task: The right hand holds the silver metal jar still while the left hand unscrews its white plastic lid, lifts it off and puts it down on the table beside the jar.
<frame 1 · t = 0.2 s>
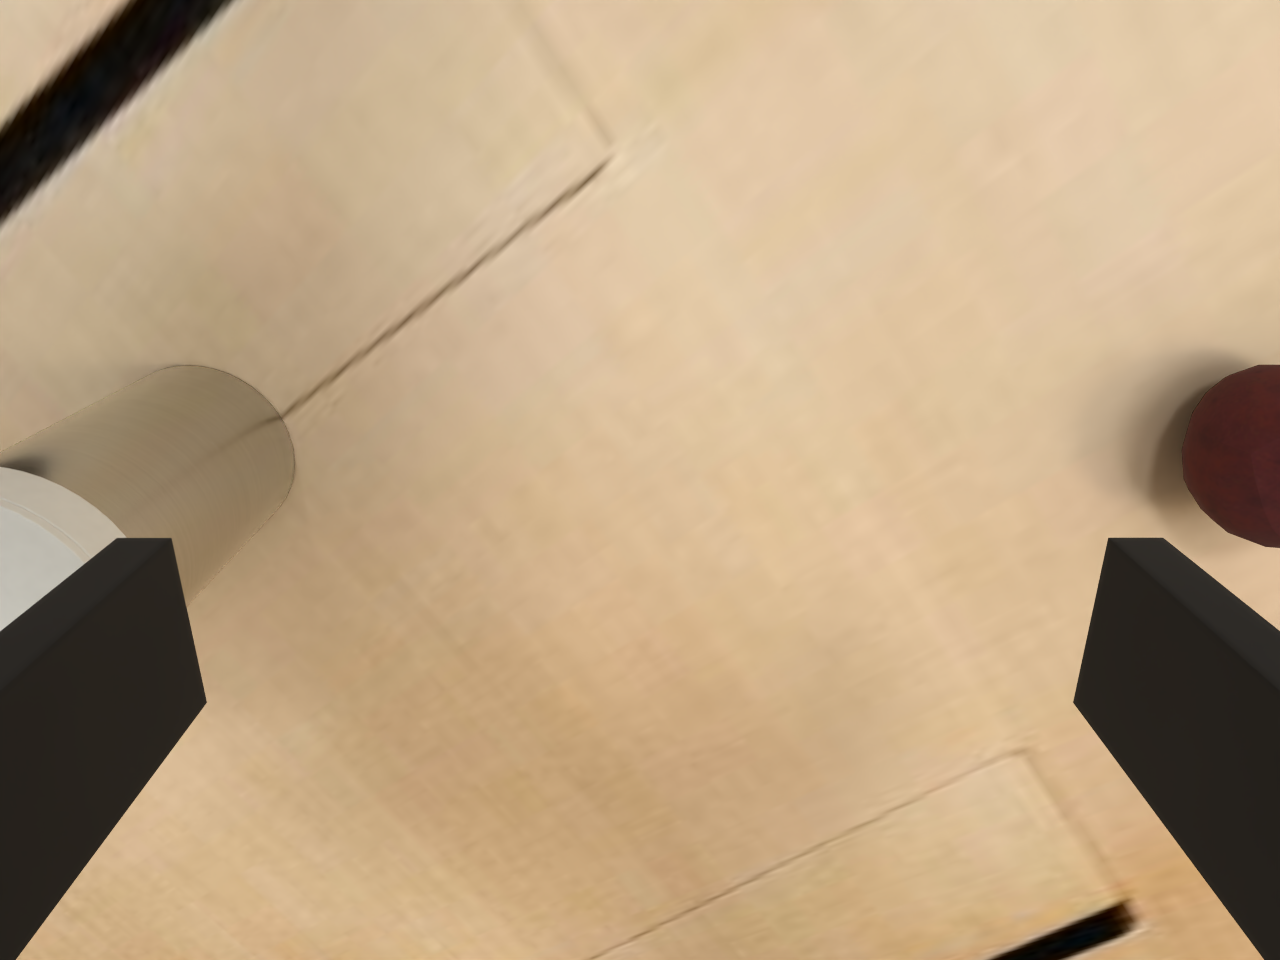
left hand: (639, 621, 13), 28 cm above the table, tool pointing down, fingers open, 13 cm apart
jar: (205, 451, 42), on the table
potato: (1227, 425, 41), on the table
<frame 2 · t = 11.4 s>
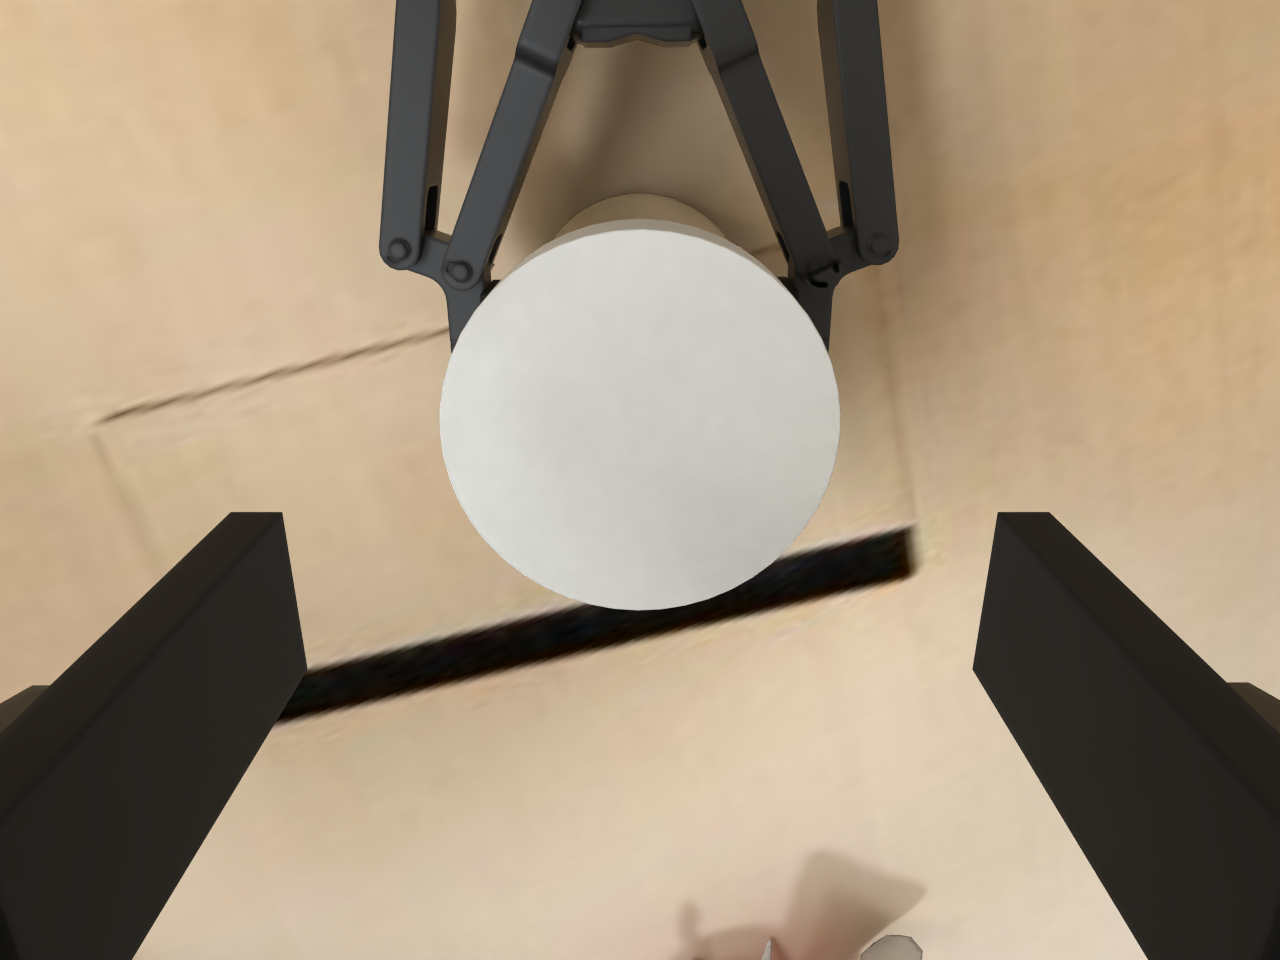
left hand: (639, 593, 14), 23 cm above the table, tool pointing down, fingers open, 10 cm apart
right hand: (641, 474, 31), fingers closed on jar, 8 cm apart
lid: (639, 430, 21), point 15 cm above the table, screwed on, not yet turned
jar: (639, 303, 35), on the table, touching right hand
fish: (767, 957, 48), on the table
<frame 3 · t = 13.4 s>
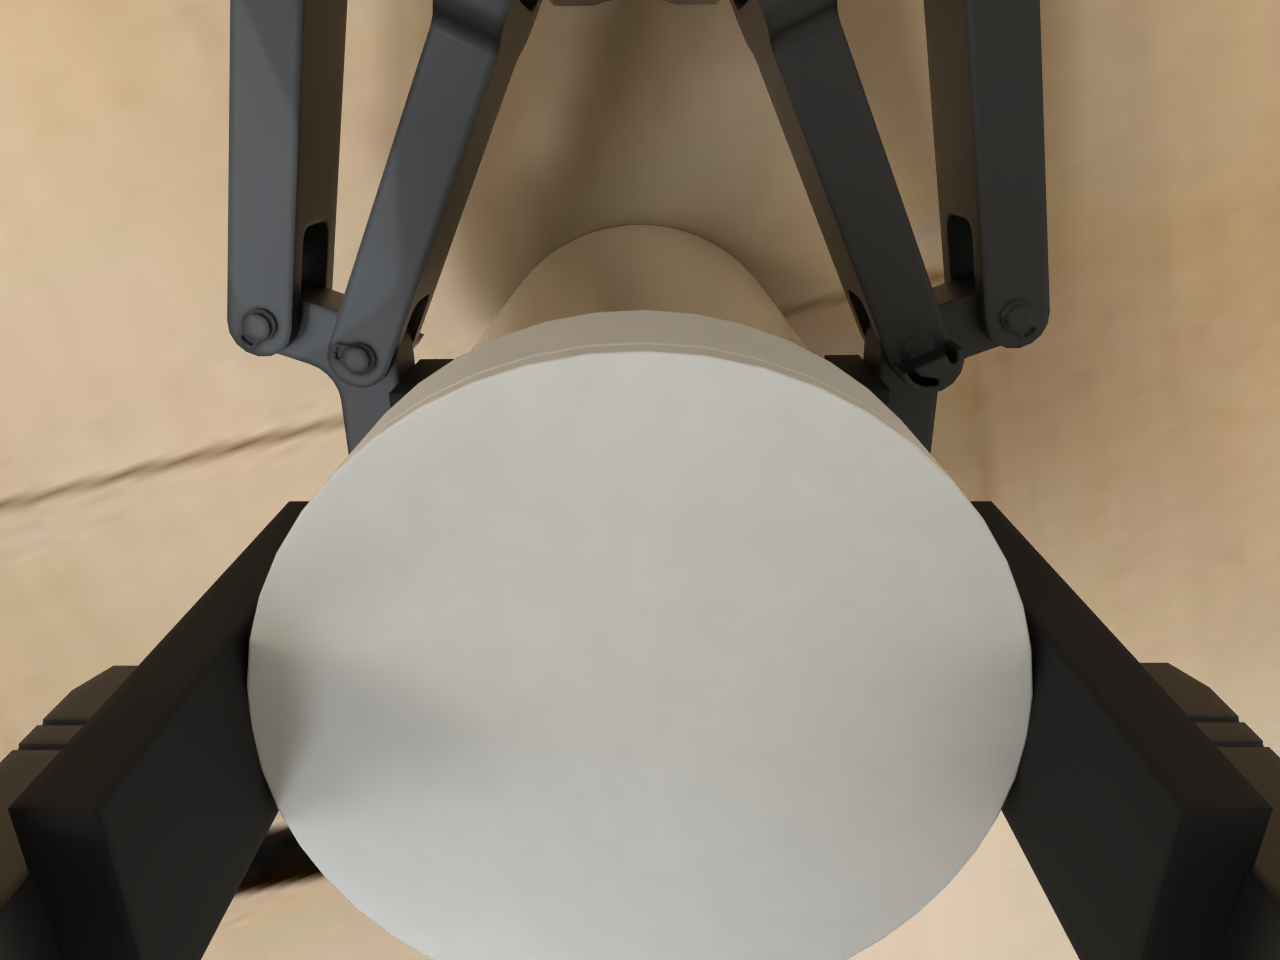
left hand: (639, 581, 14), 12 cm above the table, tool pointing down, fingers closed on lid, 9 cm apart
right hand: (642, 641, 21), fingers closed on jar, 8 cm apart
lid: (639, 715, 11), point 15 cm above the table, screwed on, not yet turned, touching left hand
jar: (639, 376, 25), on the table, touching right hand
when the left hand's fingers open (12 cm above the table, at t = 14.9 s): lid stays where it is, point 16 cm above the table.
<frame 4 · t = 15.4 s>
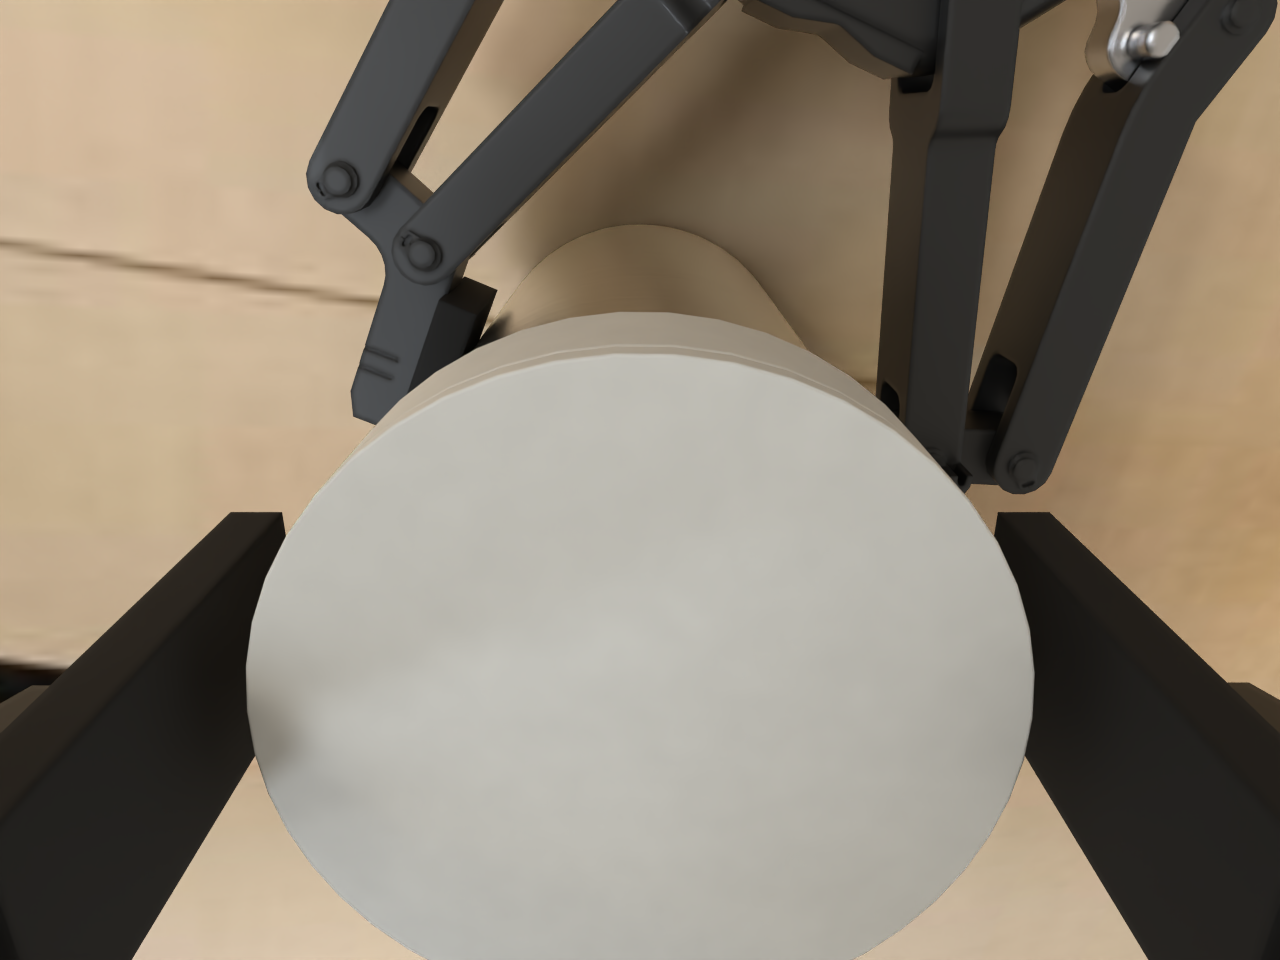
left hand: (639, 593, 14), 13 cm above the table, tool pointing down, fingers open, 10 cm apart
right hand: (562, 624, 21), fingers closed on jar, 8 cm apart
lid: (640, 717, 11), point 16 cm above the table, turned 87° so far, risen 0.2 cm, still on its thread
jar: (640, 375, 25), on the table, touching right hand
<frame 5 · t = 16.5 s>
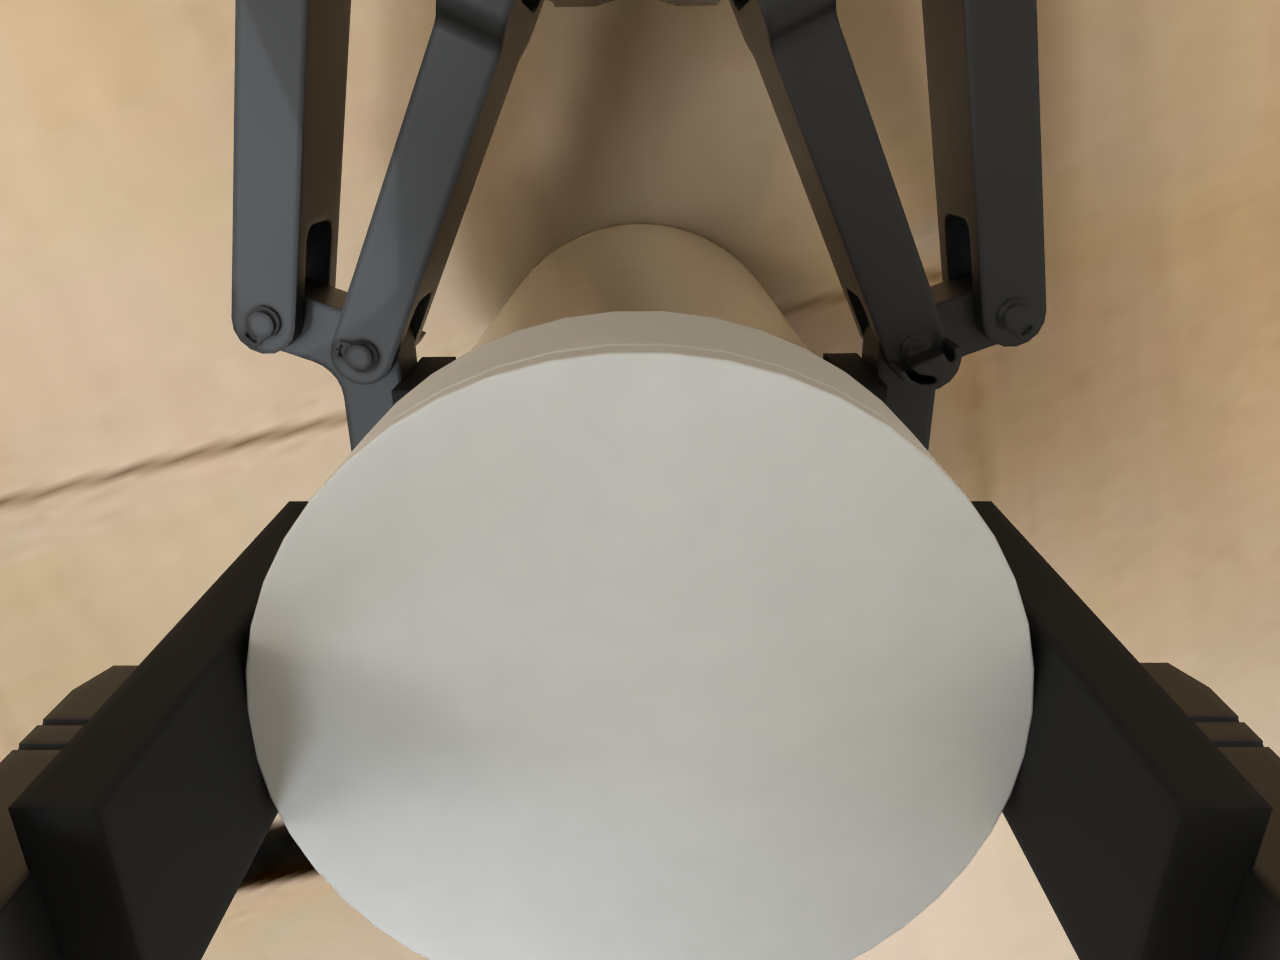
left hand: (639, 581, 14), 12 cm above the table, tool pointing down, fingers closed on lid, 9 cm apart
right hand: (642, 637, 21), fingers closed on jar, 8 cm apart
lid: (639, 717, 11), point 16 cm above the table, turned 87° so far, risen 0.2 cm, still on its thread, touching left hand
jar: (640, 375, 25), on the table, touching right hand
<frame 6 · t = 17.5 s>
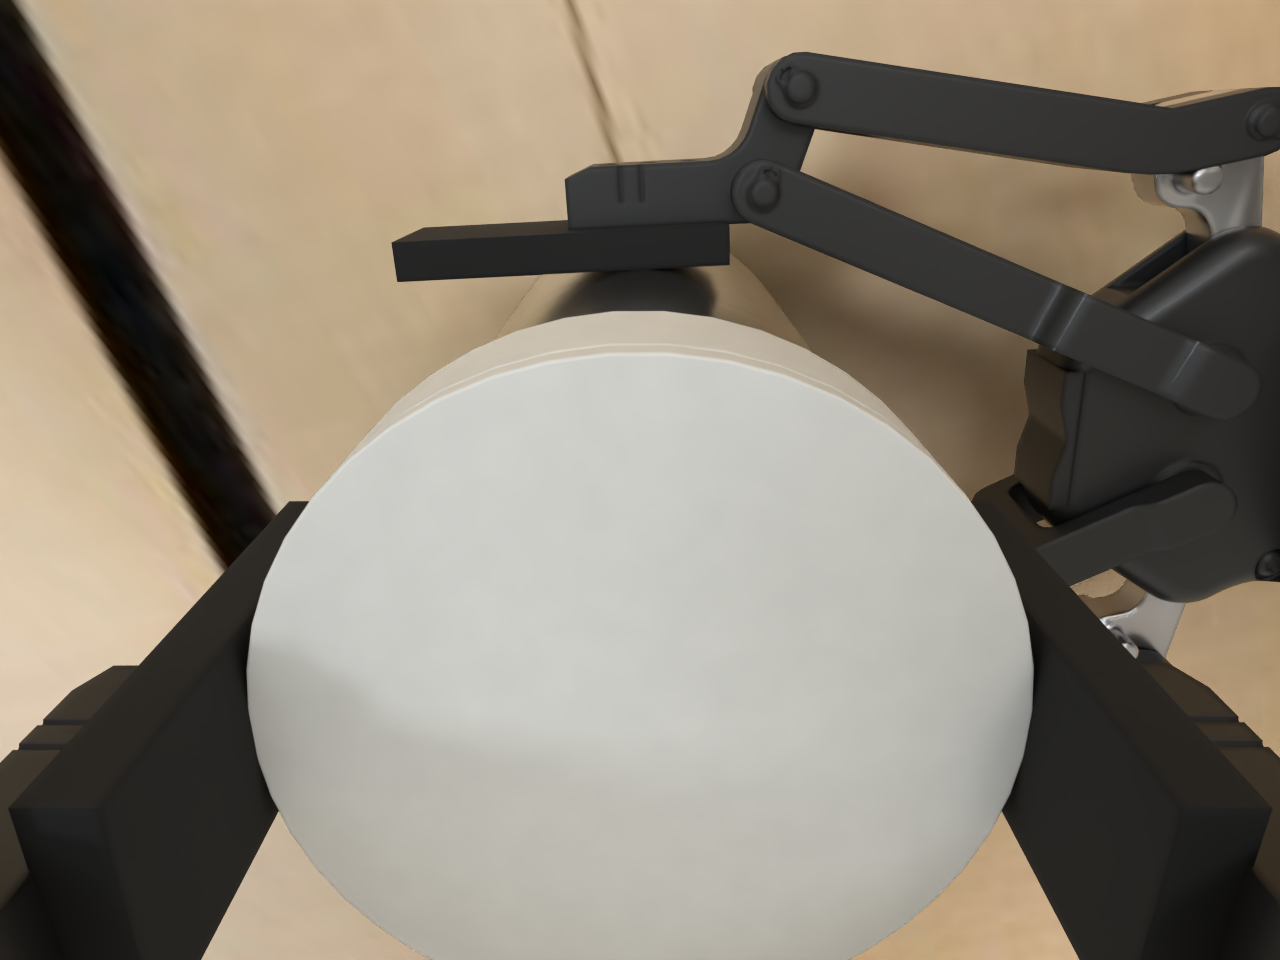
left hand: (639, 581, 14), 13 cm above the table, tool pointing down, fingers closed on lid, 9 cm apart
lid: (640, 716, 11), point 16 cm above the table, off its thread, touching left hand
jar: (647, 374, 26), on the table, touching right hand
when the left hand's fingers open (0 cm above the table, at t = 22.4 s): lid drops 2 cm, point 2 cm above the table.
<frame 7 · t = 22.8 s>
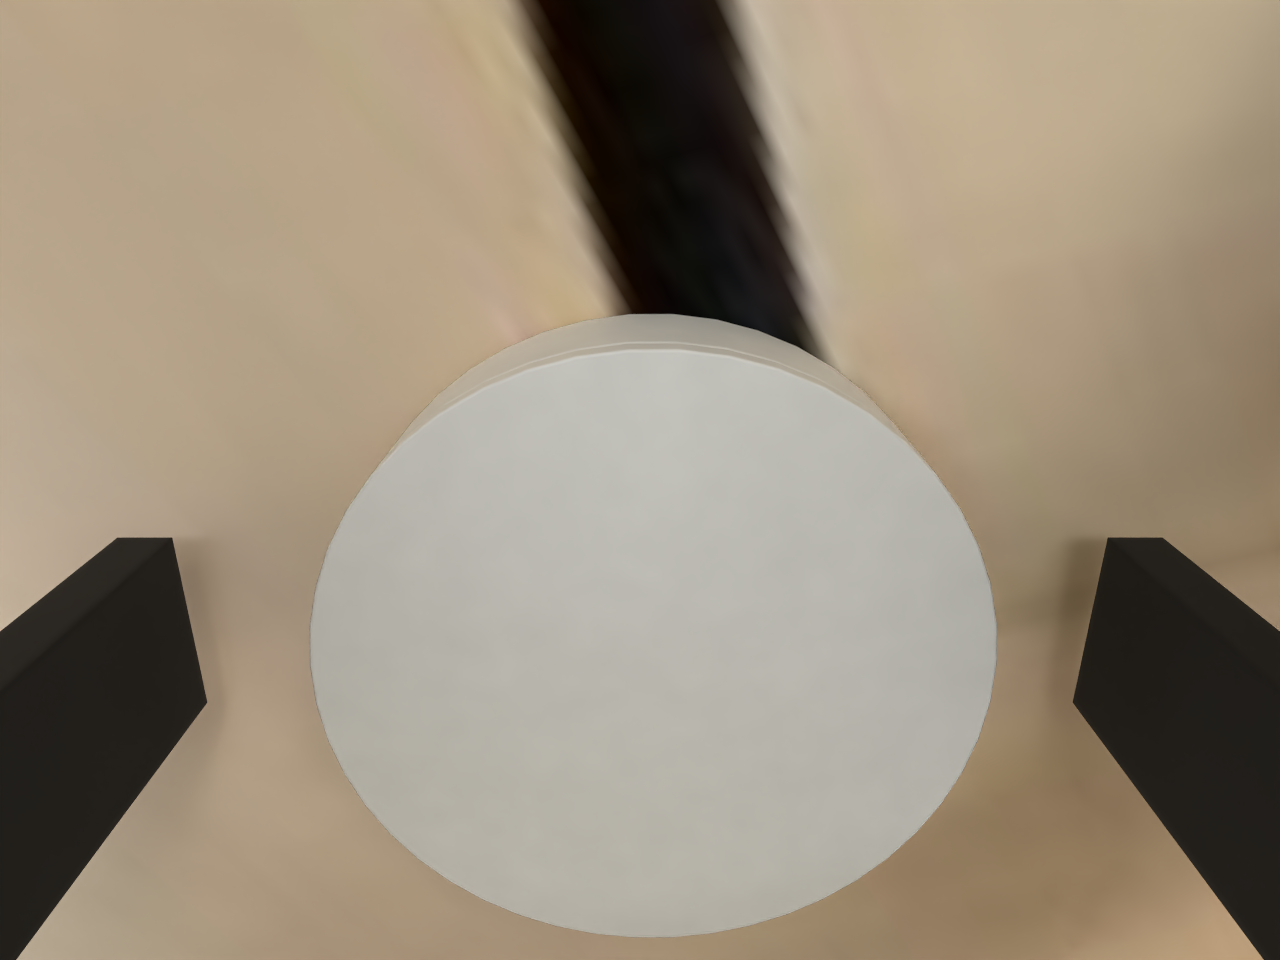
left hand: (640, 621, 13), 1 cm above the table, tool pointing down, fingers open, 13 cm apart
lid: (652, 670, 12), point 2 cm above the table, off its thread
when the right hand's fingers open (6 cm above the table, at t = 23.4 s): jar stays where it is, on the table.
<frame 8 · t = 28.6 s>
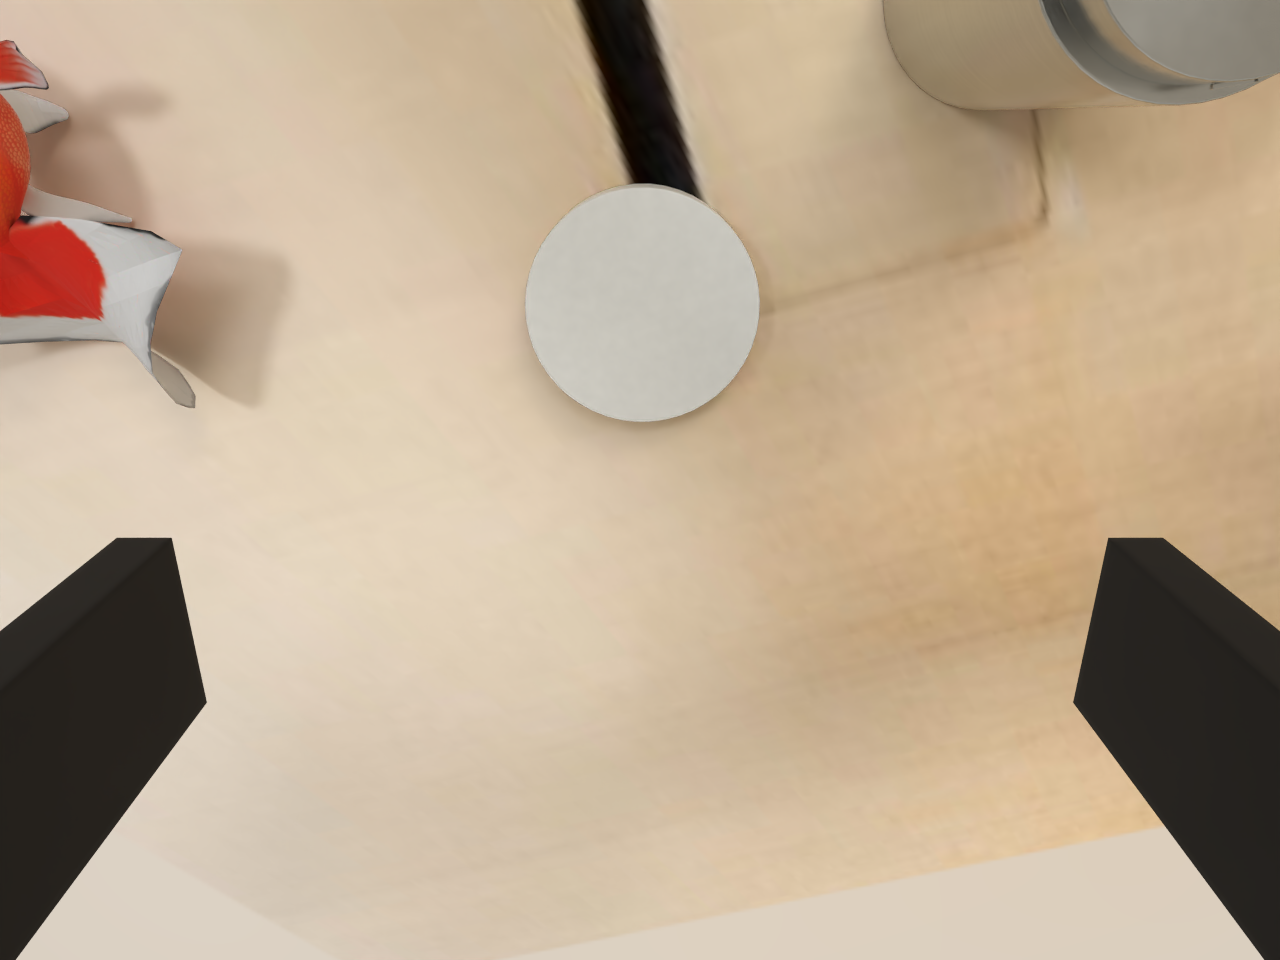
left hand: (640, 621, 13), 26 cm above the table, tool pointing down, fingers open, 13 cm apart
lid: (642, 308, 35), point 2 cm above the table, off its thread
fish: (97, 221, 36), on the table
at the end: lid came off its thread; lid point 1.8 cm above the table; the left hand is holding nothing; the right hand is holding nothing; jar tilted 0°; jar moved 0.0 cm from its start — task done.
